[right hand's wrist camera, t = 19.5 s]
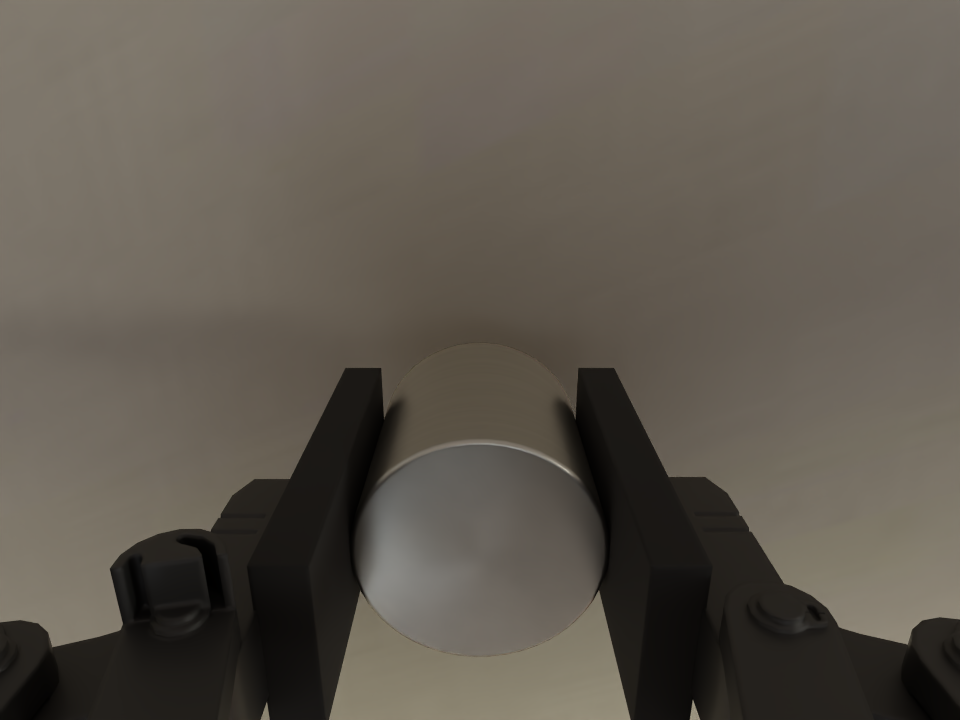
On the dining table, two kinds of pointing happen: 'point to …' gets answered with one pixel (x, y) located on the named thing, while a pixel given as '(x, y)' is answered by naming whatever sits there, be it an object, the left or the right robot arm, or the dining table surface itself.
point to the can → (479, 507)
